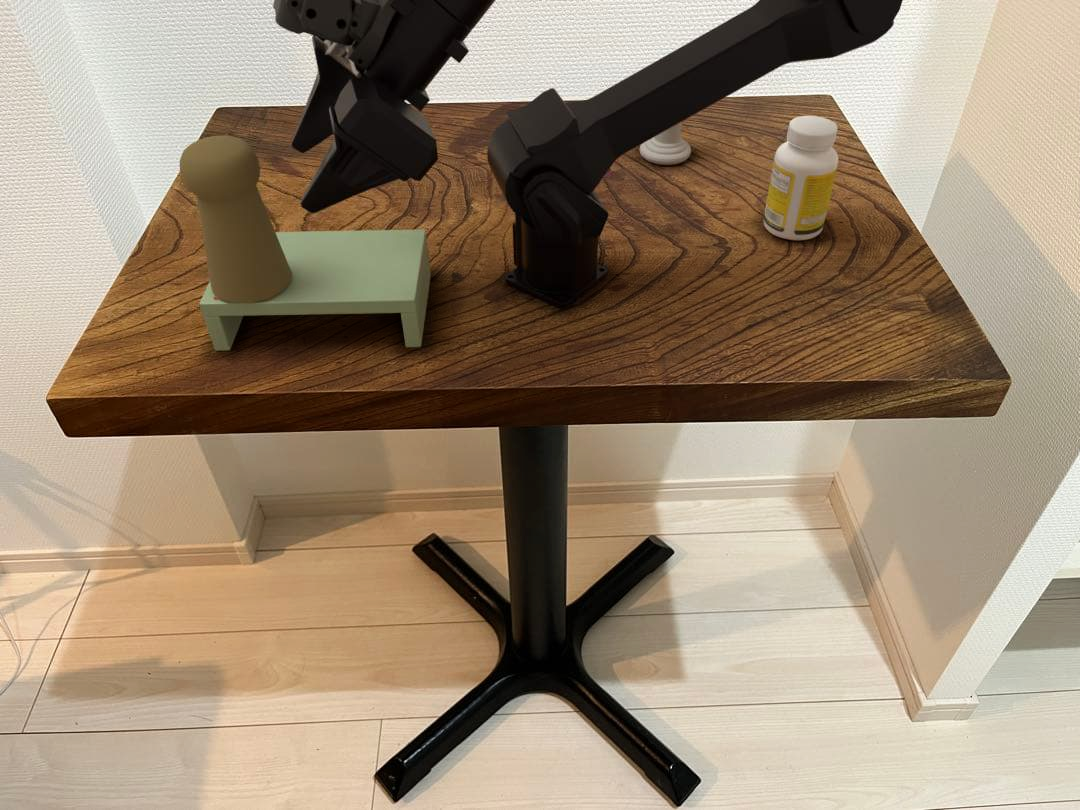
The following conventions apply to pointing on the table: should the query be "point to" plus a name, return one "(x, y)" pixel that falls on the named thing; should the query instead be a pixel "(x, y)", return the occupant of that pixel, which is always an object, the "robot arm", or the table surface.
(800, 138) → the supplement bottle
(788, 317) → the table surface
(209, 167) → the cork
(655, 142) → the chess piece
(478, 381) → the table surface
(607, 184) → the table surface
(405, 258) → the shelf
